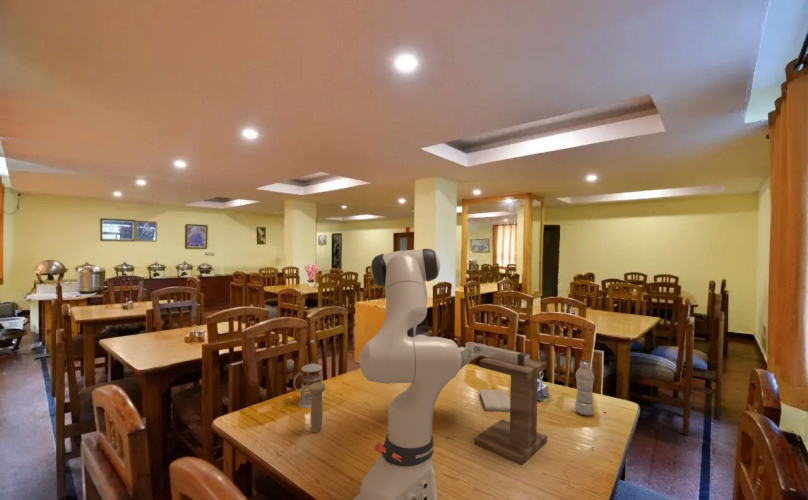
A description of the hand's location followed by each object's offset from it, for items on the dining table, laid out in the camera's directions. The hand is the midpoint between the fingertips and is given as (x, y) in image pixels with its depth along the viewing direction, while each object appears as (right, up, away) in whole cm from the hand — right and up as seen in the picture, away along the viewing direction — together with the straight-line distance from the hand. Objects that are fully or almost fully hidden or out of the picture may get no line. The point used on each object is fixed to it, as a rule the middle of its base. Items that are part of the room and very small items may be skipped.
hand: (479, 348), depth 123 cm
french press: (-64, -27, +18) cm, 72 cm away
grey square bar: (+5, -2, -4) cm, 7 cm away
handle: (-55, -27, -3) cm, 62 cm away
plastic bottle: (+43, -29, +14) cm, 54 cm away
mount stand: (+8, -28, -9) cm, 30 cm away
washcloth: (+12, -29, +23) cm, 39 cm away
